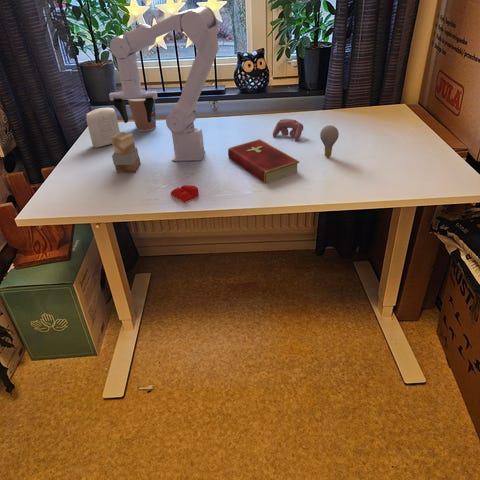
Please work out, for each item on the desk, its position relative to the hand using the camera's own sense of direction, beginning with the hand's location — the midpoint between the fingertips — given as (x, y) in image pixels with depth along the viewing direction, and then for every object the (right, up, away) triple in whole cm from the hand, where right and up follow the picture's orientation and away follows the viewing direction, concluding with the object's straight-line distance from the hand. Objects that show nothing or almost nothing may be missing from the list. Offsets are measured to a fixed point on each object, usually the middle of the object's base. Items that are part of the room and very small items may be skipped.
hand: (138, 121), depth 141 cm
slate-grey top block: (-2, -13, -6) cm, 15 cm away
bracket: (+17, -26, -19) cm, 37 cm away
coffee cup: (-2, +4, +24) cm, 25 cm away
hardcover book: (+40, -16, -6) cm, 43 cm away
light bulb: (+60, -12, -4) cm, 61 cm away
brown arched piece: (+49, -3, +11) cm, 50 cm away
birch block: (-2, -11, -7) cm, 13 cm away
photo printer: (-14, -4, +14) cm, 20 cm away
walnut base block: (-2, -16, -4) cm, 16 cm away
